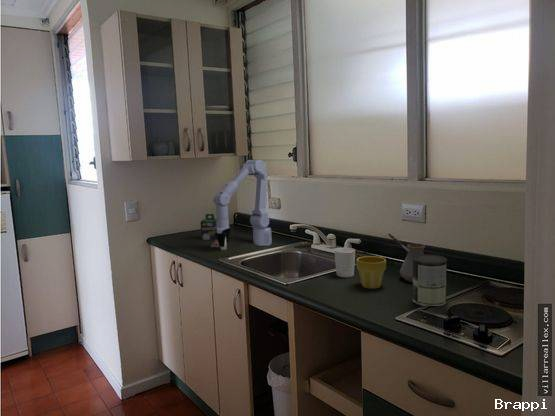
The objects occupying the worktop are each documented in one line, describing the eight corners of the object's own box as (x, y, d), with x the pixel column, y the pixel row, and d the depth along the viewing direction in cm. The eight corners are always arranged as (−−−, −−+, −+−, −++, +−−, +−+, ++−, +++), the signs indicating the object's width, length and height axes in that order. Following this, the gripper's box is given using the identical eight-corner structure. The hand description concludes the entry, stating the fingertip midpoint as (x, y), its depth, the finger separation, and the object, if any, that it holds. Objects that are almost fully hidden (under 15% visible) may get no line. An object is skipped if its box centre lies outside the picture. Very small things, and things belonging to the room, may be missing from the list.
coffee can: (405, 299, 142) (405, 257, 140) (428, 293, 147) (428, 252, 145) (429, 309, 133) (430, 264, 131) (453, 302, 138) (454, 259, 136)
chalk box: (221, 237, 250) (220, 212, 248) (217, 241, 241) (216, 214, 239) (205, 238, 251) (204, 212, 249) (201, 241, 242) (199, 215, 240)
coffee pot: (439, 281, 160) (439, 240, 158) (415, 286, 155) (415, 244, 153) (398, 267, 179) (398, 231, 177) (376, 271, 174) (376, 234, 172)
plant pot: (368, 279, 165) (368, 254, 163) (391, 285, 157) (392, 259, 155) (350, 285, 158) (350, 259, 157) (374, 292, 150) (373, 264, 149)
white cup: (331, 273, 174) (331, 249, 172) (348, 271, 176) (348, 246, 175) (341, 279, 166) (340, 253, 165) (359, 276, 169) (359, 250, 168)
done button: (221, 244, 227) (221, 240, 227) (220, 246, 224) (219, 241, 224) (215, 244, 228) (215, 240, 228) (214, 246, 225) (213, 241, 224)
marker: (227, 249, 218) (226, 236, 217) (225, 251, 215) (225, 237, 214) (221, 249, 219) (220, 236, 218) (219, 251, 216) (219, 237, 215)
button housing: (225, 246, 229) (224, 243, 229) (222, 248, 223) (222, 245, 223) (213, 246, 230) (213, 243, 229) (210, 248, 224) (210, 245, 224)
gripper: (218, 215, 222) (219, 241, 224) (210, 220, 208) (212, 248, 210) (232, 215, 222) (233, 241, 223) (224, 220, 207) (226, 248, 209)
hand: (224, 244), depth 217 cm, fingers open, 7 cm apart
